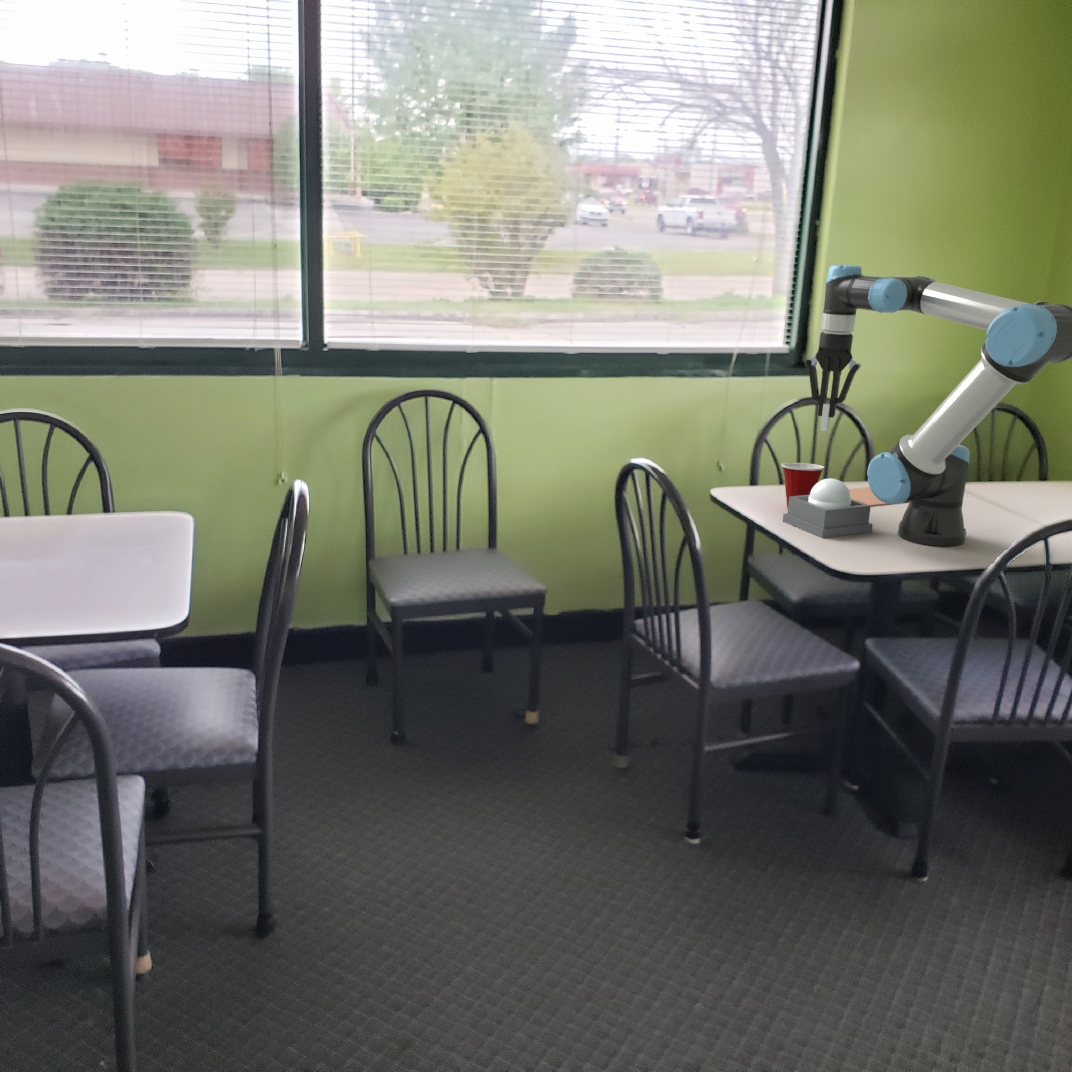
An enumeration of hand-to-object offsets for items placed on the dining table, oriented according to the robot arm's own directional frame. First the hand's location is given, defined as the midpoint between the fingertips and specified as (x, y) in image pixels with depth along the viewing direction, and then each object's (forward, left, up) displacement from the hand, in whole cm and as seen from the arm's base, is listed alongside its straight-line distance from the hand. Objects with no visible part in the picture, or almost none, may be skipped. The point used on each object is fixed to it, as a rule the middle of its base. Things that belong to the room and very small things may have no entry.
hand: (824, 429), depth 250 cm
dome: (-6, +1, -21) cm, 21 cm away
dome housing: (-6, +1, -23) cm, 24 cm away
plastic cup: (+10, -3, -23) cm, 26 cm away
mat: (+14, -31, -23) cm, 41 cm away
